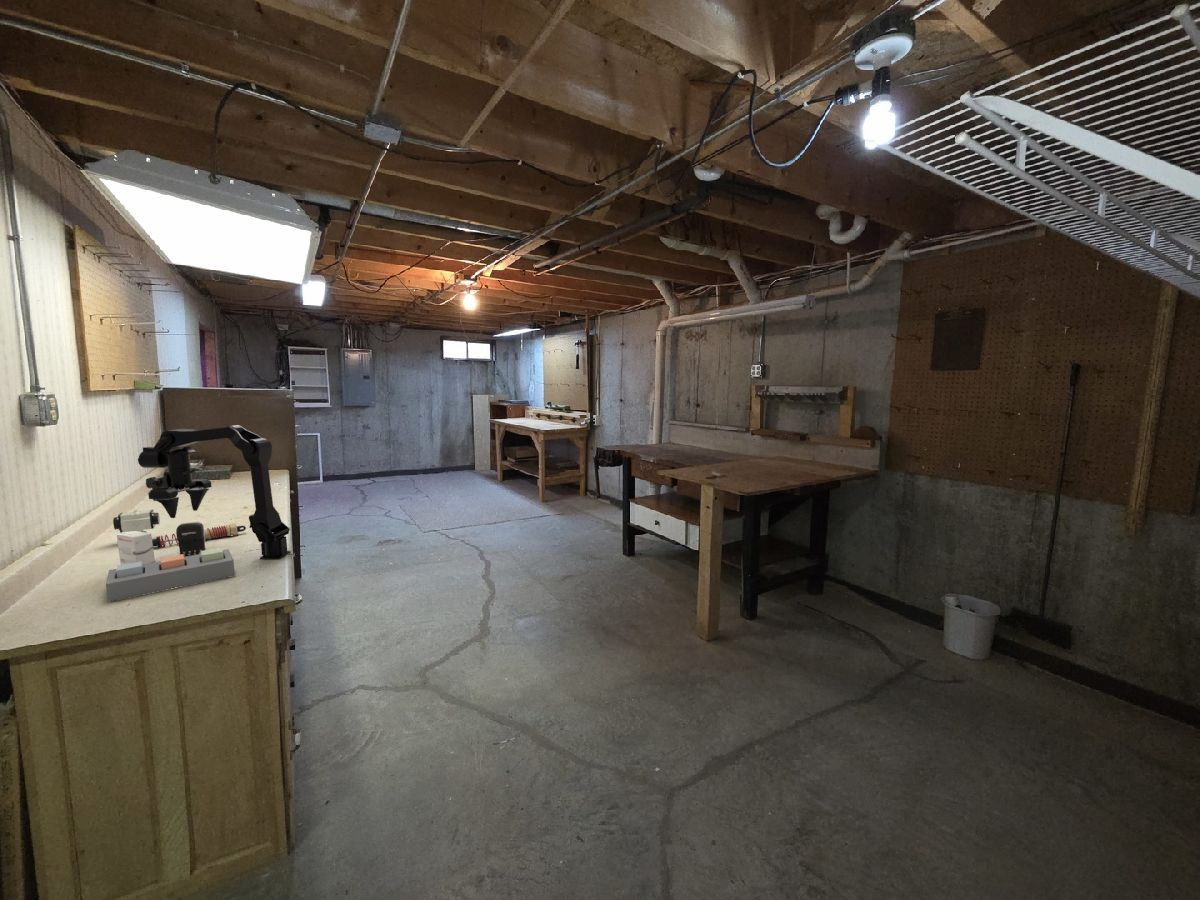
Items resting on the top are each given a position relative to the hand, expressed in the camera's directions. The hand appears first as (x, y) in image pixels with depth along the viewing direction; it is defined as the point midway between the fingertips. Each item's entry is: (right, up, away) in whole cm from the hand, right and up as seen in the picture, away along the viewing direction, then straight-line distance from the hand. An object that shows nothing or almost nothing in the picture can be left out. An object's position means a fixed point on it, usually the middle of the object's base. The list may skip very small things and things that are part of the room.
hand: (184, 514), depth 159 cm
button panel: (+13, -17, -18) cm, 28 cm away
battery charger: (+1, -15, +2) cm, 15 cm away
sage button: (+20, -14, -13) cm, 27 cm away
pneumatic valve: (-31, -13, +17) cm, 37 cm away
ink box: (-5, -16, -10) cm, 20 cm away
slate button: (+6, -15, -25) cm, 30 cm away
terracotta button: (+13, -14, -19) cm, 27 cm away
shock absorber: (-11, -13, +18) cm, 24 cm away
